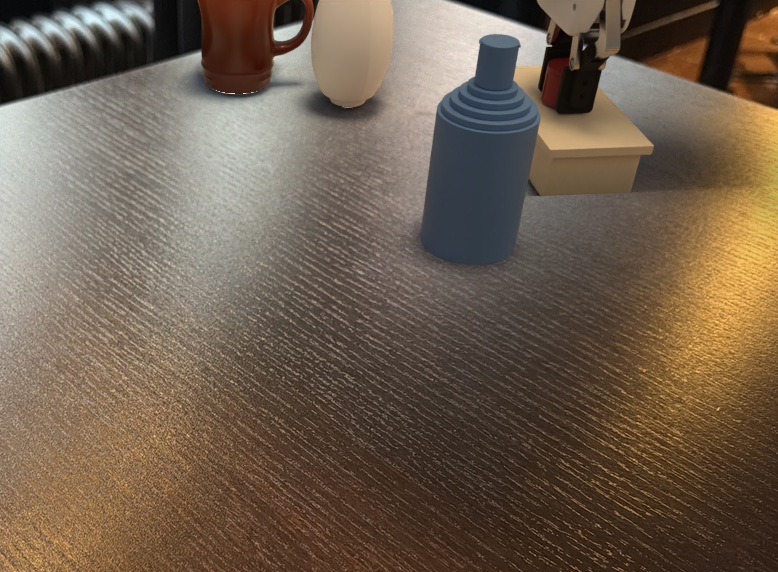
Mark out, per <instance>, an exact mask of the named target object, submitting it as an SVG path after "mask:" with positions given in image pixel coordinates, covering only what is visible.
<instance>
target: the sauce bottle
mask: <svg viewBox="0 0 778 572" xmlns="http://www.w3.org/2000/svg"><path fill="white" fill-rule="evenodd" d="M392 4H393V3H392V0H318V3H317V5H316V9H315V12H314V16H313V22H312V27H311V35H310V36H311V37H310V55H311V64H312V71H313V73H314V78H315V80H316V83H317V86H318V88H319V89H320V91H321V93H322V94H323V96H325V97H326V98H328V99H329V101H330V102H331V103H332V104H334V105H336V106H338V107H339V106H344V107H355V108H356V107H360V106H362V105H364V103H365V102H366V101H367V100H369V99H371V98H372V97H373V96H375V94H376V93H377V91H378V90H379V88H380V86H381V85H382V83H383V81H384V80H385V78H386V75H387V72H388V70H389V66H390V62H391V58H392V53H393V46H394V36H395V35H394V33H395V28H394V27H395V23H394V21H395V20H394V11H393V5H392Z"/></svg>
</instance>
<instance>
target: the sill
mask: <svg viewBox="0 0 778 572" xmlns="http://www.w3.org/2000/svg"><path fill="white" fill-rule="evenodd" d="M541 69H542V65H524V66H523V65H522V66H521V65H520V66H519V65H518V66H516V68H515V73H514V79H513V80H514V81H515V82H516V83H517V84H518V86H519V87H521V88H522V89H523V90H524V92H525V93H526V94H527V95H528V96H529V97H530V98H531V99H532V100H533V101H534V102H535V103H536V105H537V107H538V111H539V112H540V115H541V119H540V124H539V129H538V134H537V139H536V144H535V149H534V154H533V159H532V164H531V169H530V174H529V179H528V181H529V182H530V183H531V184H532V186H533V187H534V189H535V191H536V192H537V193H538V195H539V197H554V196H556V197H557V196H577V195H578V196H579V195H600V194H602V195H603V194H626V193H631V192H632V190H633V189H632V188H633V185H634V181H635V177H636V174H637V171H638V167H639V164H640V160H641V156H646V155H647V156H648V155H649V156H651V155H653V151H654V147H655V145H654V144H653V143H652V142H651V141H650V139H649V138H647V137H646V135H645V134H643V132H642V131H641V129H639V128H638V127H637V126H636V125H635V124H634V122H633V121H631V119H630V118H629V117H628V116H626V114H625V113H624V112H623V111H622V110H621V109H620V108H619V107H618V106H617V104H615V102H614V101H613V100H611V98H610V97H609V96H608V95H607V94H606V93H605V92H604V90H603V89H601V88H600V86H598V89H597V93H596V97H595V101H594V106H593V109H592V111H591V112H589V113H570V114H559V113H558V112H557V111H556V110H555V108H554V107H551V106H549V105H546V104H545V103H544V102H543V101H542V100H541V95H542V92H541V91H540V90H539V89H538V84H539V79H540V74H541Z"/></svg>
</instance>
